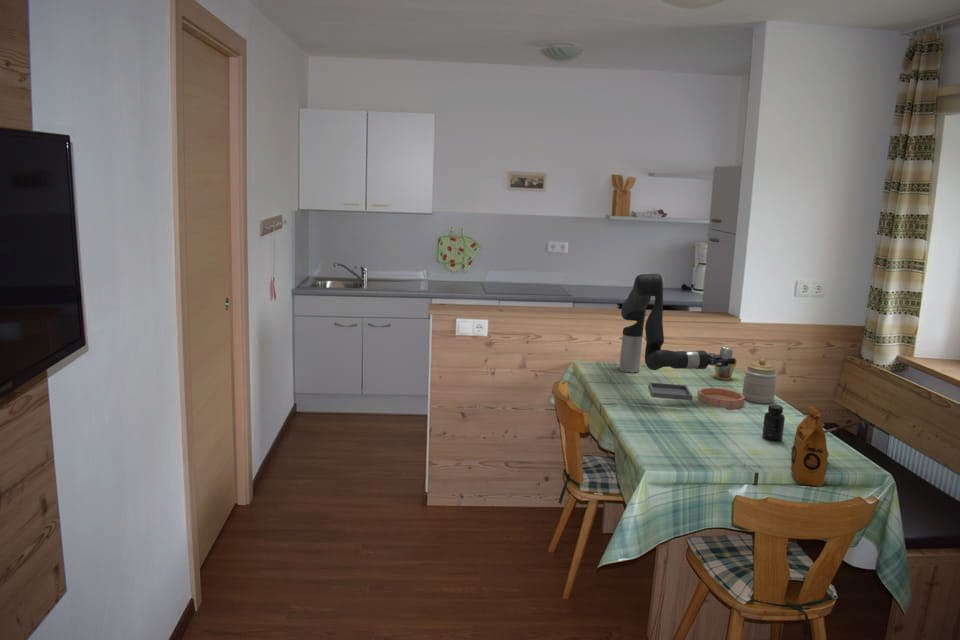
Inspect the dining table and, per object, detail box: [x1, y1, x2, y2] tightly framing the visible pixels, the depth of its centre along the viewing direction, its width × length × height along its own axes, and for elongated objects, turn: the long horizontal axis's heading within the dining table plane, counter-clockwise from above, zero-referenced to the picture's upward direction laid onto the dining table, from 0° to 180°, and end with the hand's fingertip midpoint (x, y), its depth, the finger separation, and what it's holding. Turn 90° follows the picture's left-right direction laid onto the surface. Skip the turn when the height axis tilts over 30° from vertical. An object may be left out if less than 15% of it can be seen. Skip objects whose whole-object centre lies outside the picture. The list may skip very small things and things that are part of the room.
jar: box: [741, 358, 778, 404], centre depth 319 cm, size 13×13×18 cm
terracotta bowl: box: [696, 387, 746, 410], centre depth 313 cm, size 18×18×4 cm
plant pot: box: [714, 356, 738, 381], centre depth 352 cm, size 10×10×10 cm
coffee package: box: [790, 405, 829, 488], centre depth 233 cm, size 10×12×22 cm
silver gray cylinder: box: [717, 346, 734, 378], centre depth 310 cm, size 5×5×12 cm
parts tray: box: [648, 382, 693, 401], centre depth 320 cm, size 16×16×2 cm
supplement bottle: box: [761, 404, 786, 442], centre depth 271 cm, size 7×7×12 cm
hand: (730, 359), depth 311 cm, fingers closed on silver gray cylinder, 5 cm apart
